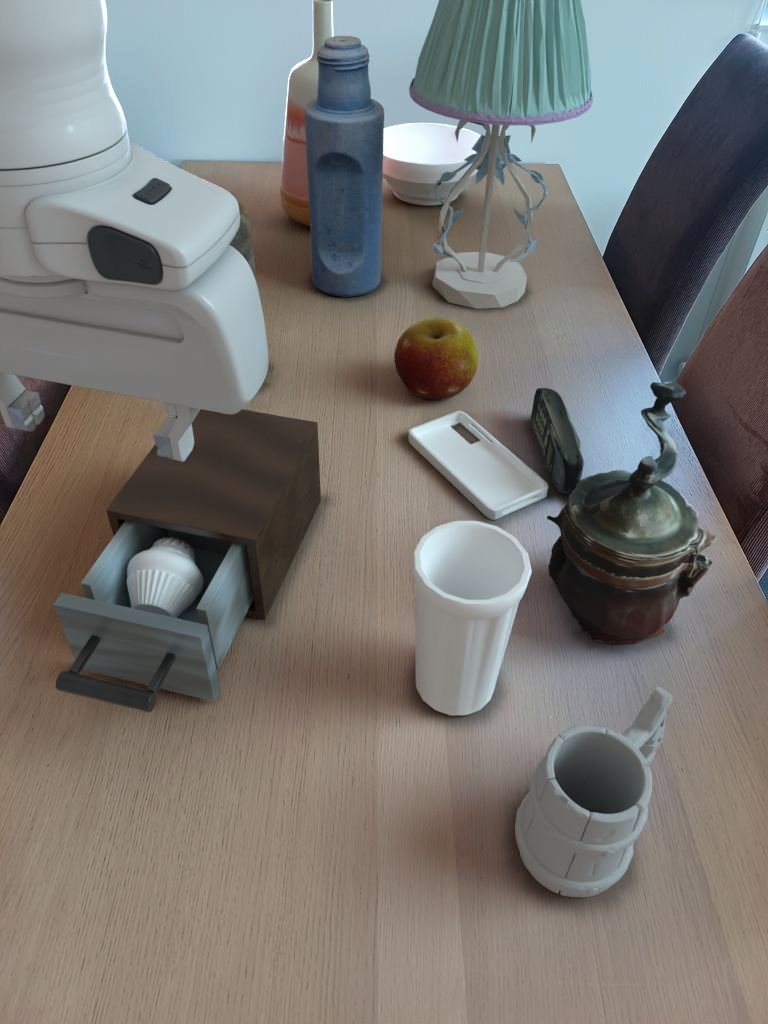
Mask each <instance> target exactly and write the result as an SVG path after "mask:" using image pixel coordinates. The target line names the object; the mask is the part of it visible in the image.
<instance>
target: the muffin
mask: <svg viewBox="0 0 768 1024" xmlns="http://www.w3.org/2000/svg"><path fill="white" fill-rule="evenodd" d="M194 559H195V556H194V551H193V549H192V548H191V547H190V545H189V544H187V543H185V541H181V540H180V539H178V538H177V539H175V538H173V537H170V538H168V537H165V538H162V539H159V540H157V541H156V542H155V543H154V544H153V546H152V547H151V548H150V549H148V550H145V551H142V552H140V553H138V554H136V555H135V556H134V557H133V558H132V559H131V560H130V562H129V564H128V567H127V577H128V578H127V587H128V592H129V597H130V602H131V607H132V608H133V609H137V610H142V611H146V612H151V613H155V614H160V615H164V616H169V617H173V618H177V617H178V616H179V615H180V614H181V613H182V612H183V611H184V610H185V609H186V608H187V607H188V606H190V605H191V604H192V603H193V601H194V600H195V597H197V596H198V595H199V593H200V592H201V590H202V588H203V583H204V580H203V576H202V574H201V572H200V570H199V569H198V567H197V566H196V564H195V560H194Z"/></svg>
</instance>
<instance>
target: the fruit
mask: <svg viewBox="0 0 768 1024" xmlns="http://www.w3.org/2000/svg"><path fill="white" fill-rule="evenodd" d="M393 362H394V367H395V371H396V374H397V376H398V378H399V380H400V381H401V383H402V384H403V385H404V387H405V388H406V389H407V390H408V391H409V392H410V393H412V394H413V395H416V396H418V397H420V398H423V399H428V400H437V401H439V400H445V399H449V398H451V397H454V396H456V395H459V394H461V393H462V392H463V391H464V390H465V389H466V388H468V387H469V385H470V383H471V382H472V381H473V380H474V378H475V376H476V372H477V370H478V367H479V366H478V365H479V351H478V347H477V344H476V342H475V339H474V337H473V335H472V334H471V333H470V332H469V331H468V329H467V328H465V326H463V325H462V324H460V323H458V322H457V321H454V320H451V319H446V318H428V319H424V320H423V319H422V320H420V321H417V322H415V323H413V324H411V325H409V327H408V328H406V329H405V330H404V331H403V332H402V333H401V335H400V337H399V338H398V340H397V343H396V345H395V349H394V361H393Z"/></svg>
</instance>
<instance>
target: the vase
mask: <svg viewBox="0 0 768 1024" xmlns="http://www.w3.org/2000/svg"><path fill="white" fill-rule="evenodd" d="M333 12H334V11H333V0H312V53H311V55H310V57H308V58H306V59H304V60H303V61H300V62H298V63H296V65H294V66H293V67H292V68H291V71H290V73H289V76H288V81H287V93H286V103H285V104H286V105H285V106H286V107H285V117H284V118H285V119H284V129H283V130H284V131H283V145H282V154H281V158H282V159H281V169H280V170H281V171H280V181H279V182H280V183H279V184H280V185H279V187H280V188H279V192H280V193H279V194H280V203H281V206H282V208H283V211H284V212H285V213H286V215H288V216H289V217H290V218H291V219H292V220H294V221H295V222H297V223H300V224H303V225H305V226H307V227H310V211H309V189H308V170H307V152H306V128H305V107H306V105H307V104H308V103H309V102H310V101H312V100H314V99H317V89H318V61H317V52H318V48H319V47H321V46H322V45H324V41H325V39H328V38H330V37H333V36H334V15H333V14H334V13H333Z"/></svg>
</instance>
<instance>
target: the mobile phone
mask: <svg viewBox="0 0 768 1024" xmlns="http://www.w3.org/2000/svg"><path fill="white" fill-rule="evenodd" d="M530 423H531V427H532V428H533V430H534V434H535V436H536V439H537V442H538V445H539V448H540V450H541V454H542V457H543V462H544V468H545V473H546V475H547V477H548V480H549V481H550V483H551V484H552V485H553V486H554V488H555V489H556V491H557V492H558V493H560V494H565V495H566V494H567V495H569V496H570V495H571V493H572V491H573V490H575V488H576V485H577V483H578V482H579V481H580V480H582V476H583V472H584V465H585V463H584V462H585V461H584V458H583V455H582V452H581V440H580V437H579V435H578V432H577V430H576V427H575V425H574V424H573V422H572V420H571V416H570V414H569V410H568V409H567V407H566V404H565V402H564V400H563V398H562V396H561V395H560V394H559V392H557V391H556V390H554V389H552V388H548V387H538V388H536V389H535V393H534V397H533V403H532V409H531V414H530Z"/></svg>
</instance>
